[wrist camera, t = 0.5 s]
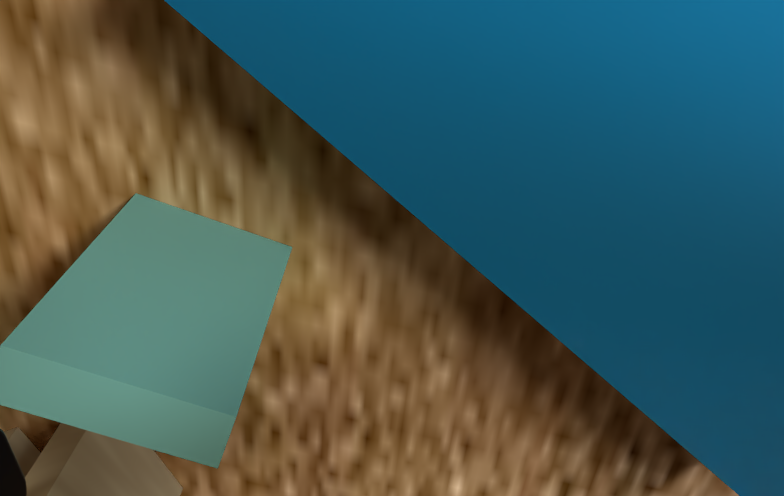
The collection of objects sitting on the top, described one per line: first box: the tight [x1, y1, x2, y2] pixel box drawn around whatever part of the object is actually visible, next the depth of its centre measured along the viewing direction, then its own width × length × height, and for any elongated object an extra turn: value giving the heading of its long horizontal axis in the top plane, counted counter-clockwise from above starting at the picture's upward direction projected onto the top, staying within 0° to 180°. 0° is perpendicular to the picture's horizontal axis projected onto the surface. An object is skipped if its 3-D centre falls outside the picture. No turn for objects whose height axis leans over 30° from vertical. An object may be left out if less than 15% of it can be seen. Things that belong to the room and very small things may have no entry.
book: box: [164, 0, 784, 496], centre depth 18 cm, size 17×4×25 cm
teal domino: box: [0, 194, 292, 469], centre depth 19 cm, size 2×5×8 cm, turn 69°
